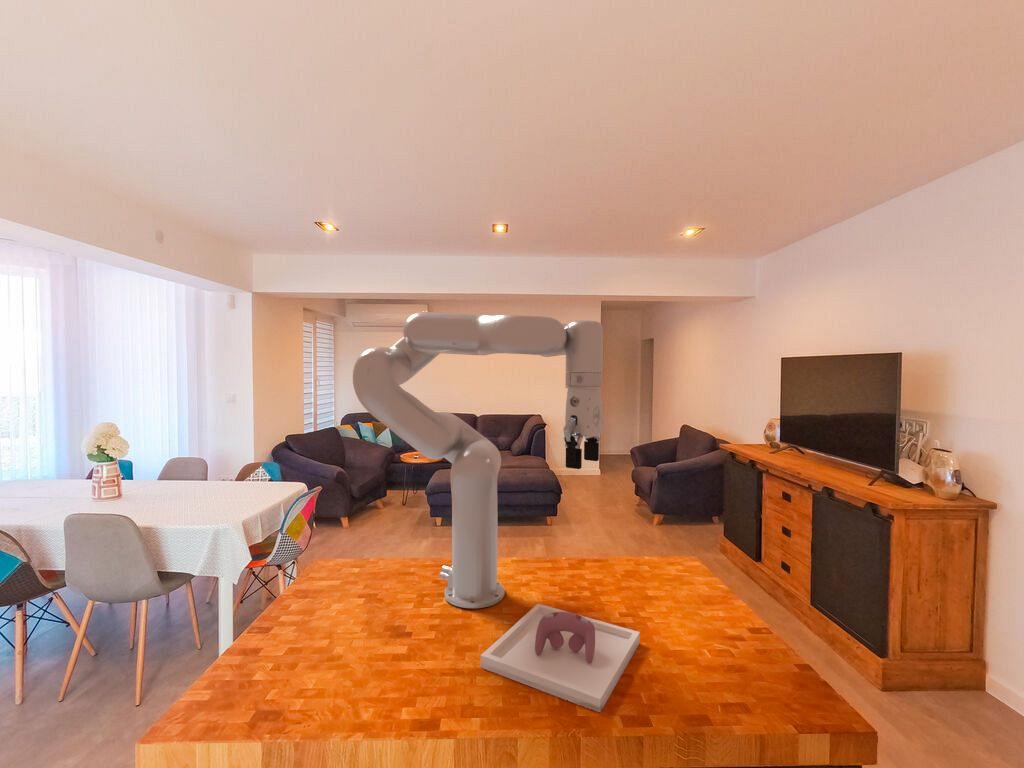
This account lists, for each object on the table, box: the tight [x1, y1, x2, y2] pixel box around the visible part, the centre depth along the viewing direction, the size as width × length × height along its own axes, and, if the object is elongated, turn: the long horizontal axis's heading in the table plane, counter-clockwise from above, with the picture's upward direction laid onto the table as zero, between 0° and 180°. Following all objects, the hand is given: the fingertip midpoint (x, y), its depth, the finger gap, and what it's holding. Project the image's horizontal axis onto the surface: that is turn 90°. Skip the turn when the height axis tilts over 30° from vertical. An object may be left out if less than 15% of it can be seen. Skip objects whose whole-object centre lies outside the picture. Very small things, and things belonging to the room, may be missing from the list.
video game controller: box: [535, 611, 595, 664], centre depth 81 cm, size 10×5×7 cm, turn 75°
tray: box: [480, 603, 641, 713], centre depth 81 cm, size 20×20×2 cm
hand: (582, 464), depth 100 cm, fingers open, 9 cm apart
